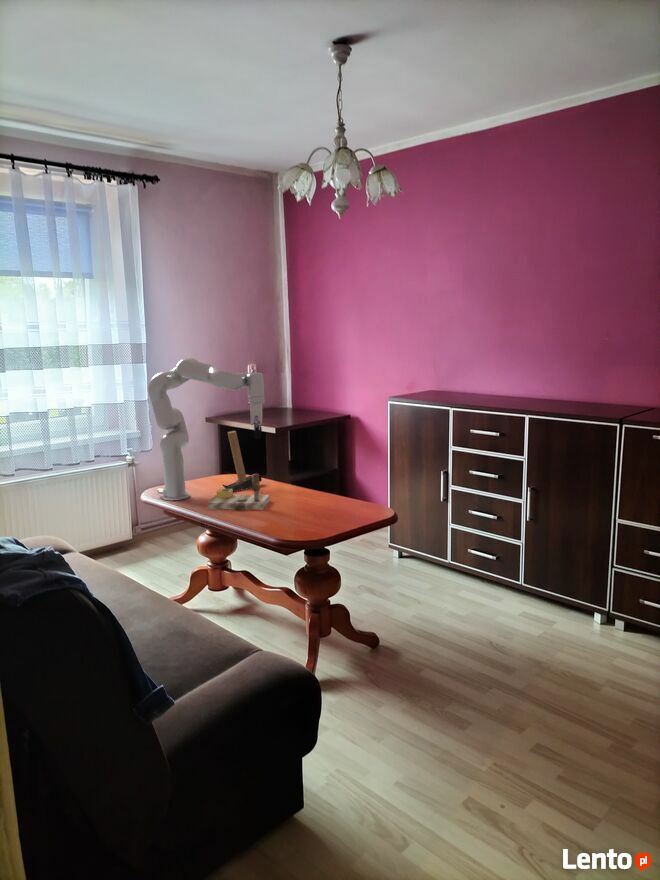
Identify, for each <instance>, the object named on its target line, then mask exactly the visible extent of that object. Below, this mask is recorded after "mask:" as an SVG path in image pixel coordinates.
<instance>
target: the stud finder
mask: <svg viewBox="0 0 660 880" xmlns="http://www.w3.org/2000/svg"><path fill="white" fill-rule="evenodd" d="M216 495H217V498H230V497H231V496H232V495H234V491H233V489H225V488H219V489H218V490H216Z"/></svg>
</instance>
